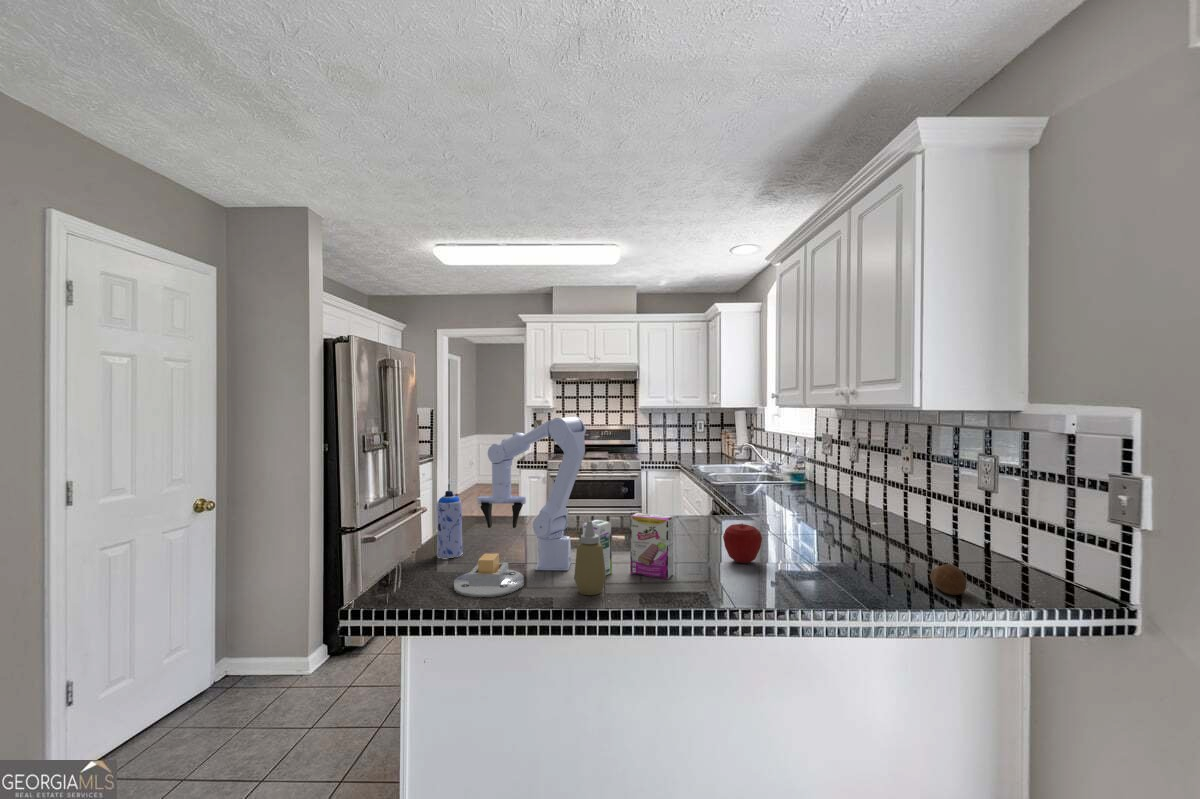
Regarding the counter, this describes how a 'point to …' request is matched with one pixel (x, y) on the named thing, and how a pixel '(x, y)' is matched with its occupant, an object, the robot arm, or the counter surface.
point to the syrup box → (603, 541)
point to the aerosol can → (449, 526)
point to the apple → (742, 542)
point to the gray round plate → (489, 582)
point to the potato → (949, 579)
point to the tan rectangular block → (488, 563)
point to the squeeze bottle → (590, 563)
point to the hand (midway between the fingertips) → (502, 527)
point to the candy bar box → (651, 545)
